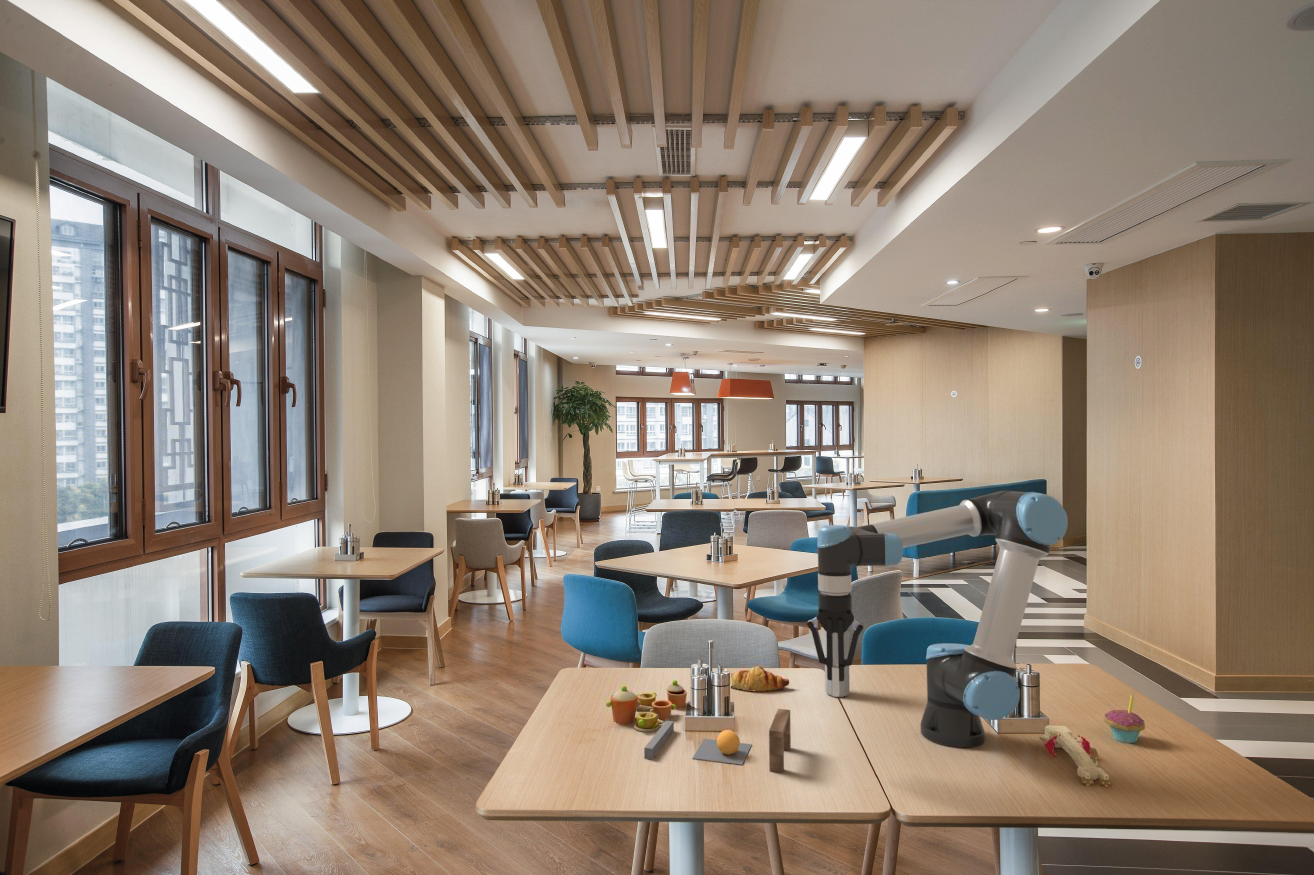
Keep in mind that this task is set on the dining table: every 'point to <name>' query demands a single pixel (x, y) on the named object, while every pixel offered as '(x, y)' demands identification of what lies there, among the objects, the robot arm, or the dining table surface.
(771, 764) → the bridge
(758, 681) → the croissant
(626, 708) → the toy tea set
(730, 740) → the ball
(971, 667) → the robot arm
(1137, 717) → the cupcake
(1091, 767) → the bone
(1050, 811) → the dining table surface
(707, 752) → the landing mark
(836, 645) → the water bottle
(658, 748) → the stopper
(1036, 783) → the dining table surface
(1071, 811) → the dining table surface
